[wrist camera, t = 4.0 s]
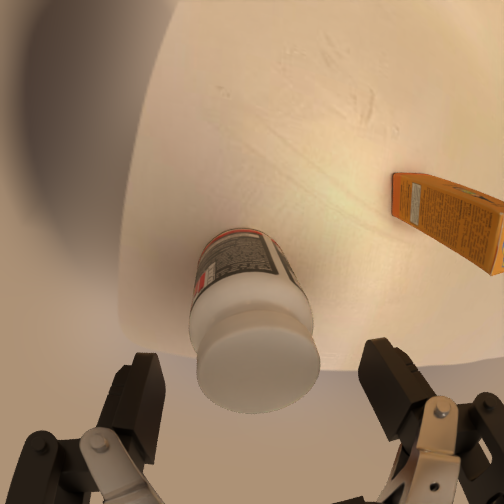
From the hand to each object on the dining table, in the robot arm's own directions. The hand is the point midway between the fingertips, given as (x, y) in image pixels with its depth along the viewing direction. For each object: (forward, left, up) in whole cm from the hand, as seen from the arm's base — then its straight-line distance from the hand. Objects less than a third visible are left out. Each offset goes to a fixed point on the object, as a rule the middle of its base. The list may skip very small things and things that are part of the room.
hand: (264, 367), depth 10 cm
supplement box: (+12, +5, -10) cm, 16 cm away
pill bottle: (0, 0, -10) cm, 10 cm away
